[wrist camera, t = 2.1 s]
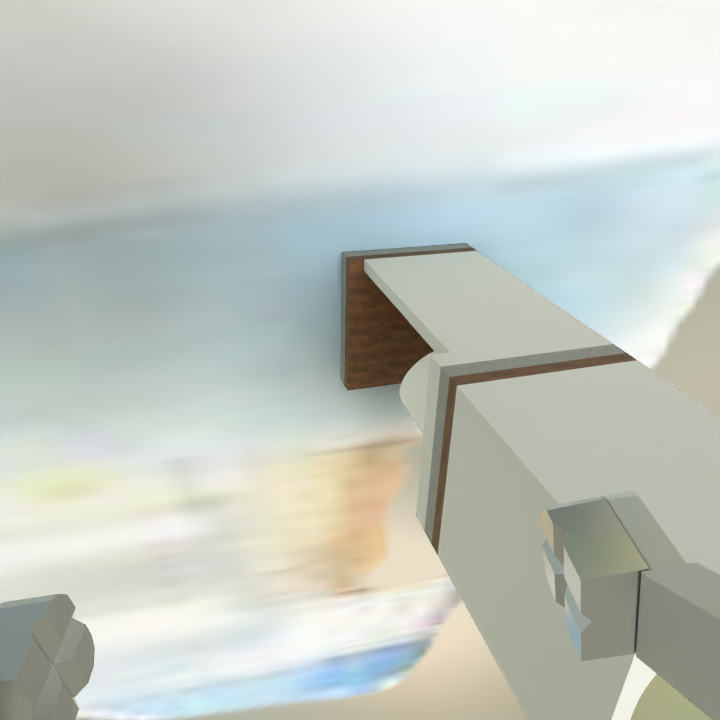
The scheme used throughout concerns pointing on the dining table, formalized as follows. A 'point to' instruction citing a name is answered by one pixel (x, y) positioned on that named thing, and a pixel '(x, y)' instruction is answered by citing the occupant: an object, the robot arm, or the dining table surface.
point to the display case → (525, 450)
